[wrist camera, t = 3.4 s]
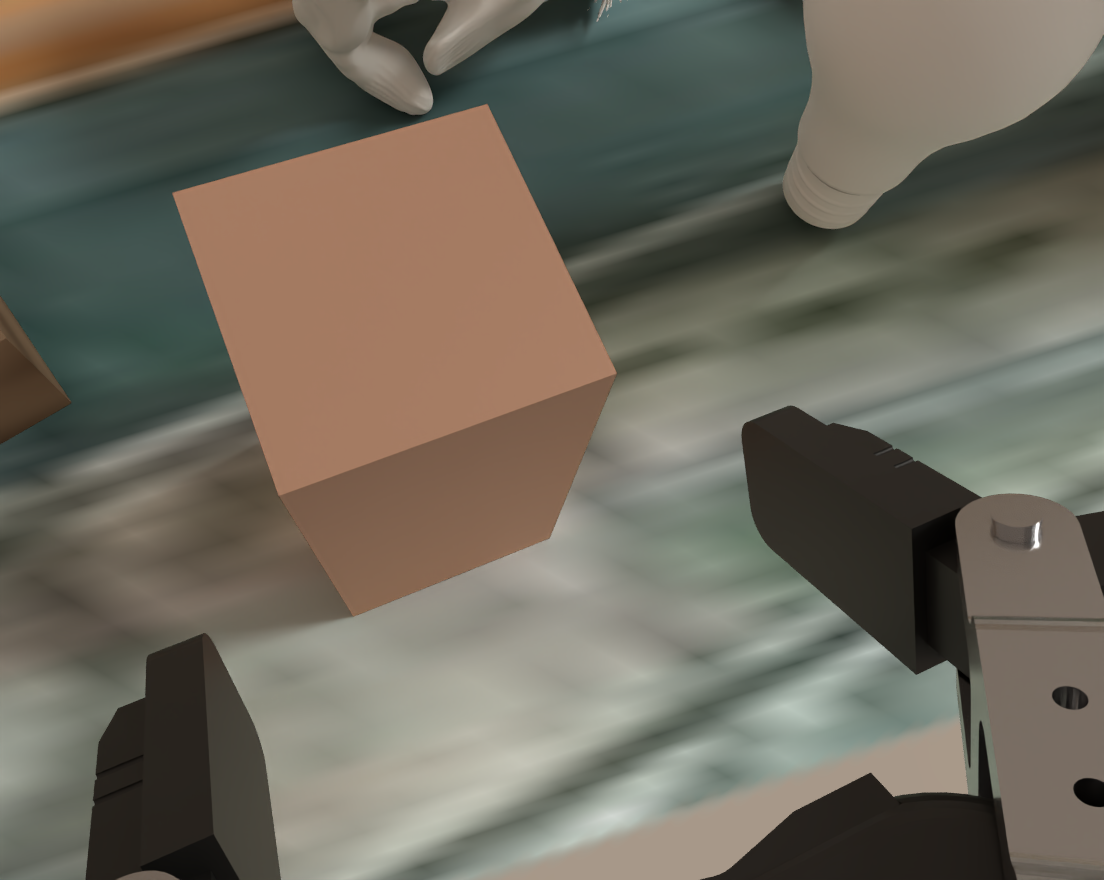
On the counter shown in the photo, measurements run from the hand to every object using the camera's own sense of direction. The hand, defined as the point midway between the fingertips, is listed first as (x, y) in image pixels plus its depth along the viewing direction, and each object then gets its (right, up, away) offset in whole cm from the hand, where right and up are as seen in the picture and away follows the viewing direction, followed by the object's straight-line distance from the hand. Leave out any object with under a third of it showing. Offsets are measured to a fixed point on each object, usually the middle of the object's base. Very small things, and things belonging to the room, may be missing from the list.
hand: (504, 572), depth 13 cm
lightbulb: (+8, +9, +14) cm, 18 cm away
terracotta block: (-3, +1, +10) cm, 10 cm away
